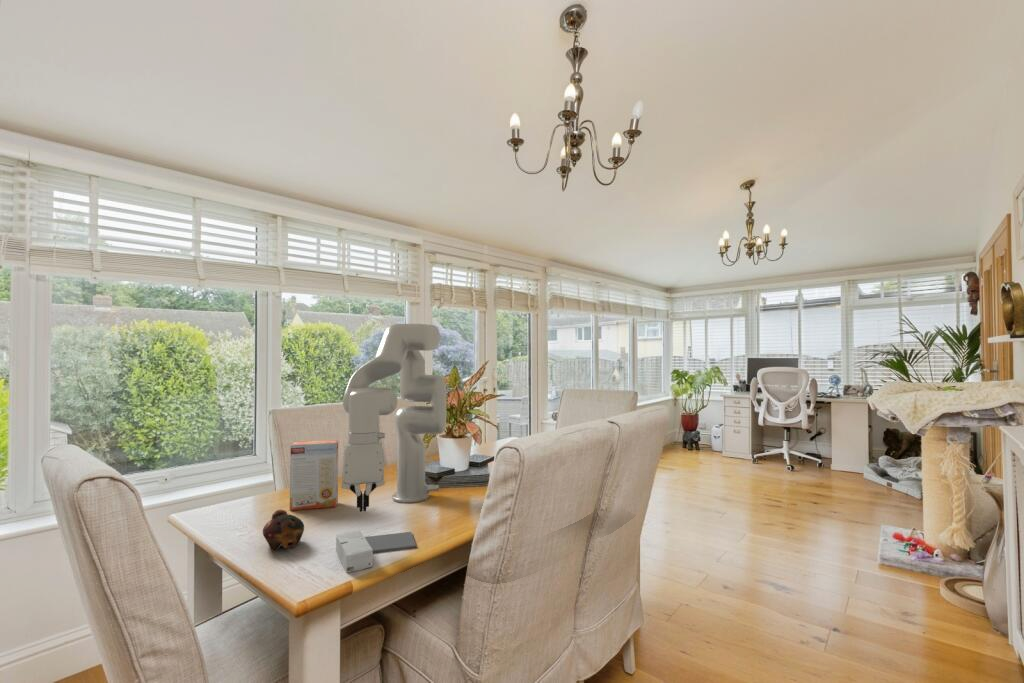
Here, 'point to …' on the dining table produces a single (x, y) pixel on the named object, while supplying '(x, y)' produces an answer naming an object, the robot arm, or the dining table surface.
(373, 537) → the slate mat
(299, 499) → the cracker box
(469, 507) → the dining table surface
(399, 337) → the robot arm
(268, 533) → the decorative turtle
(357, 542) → the skincare box
